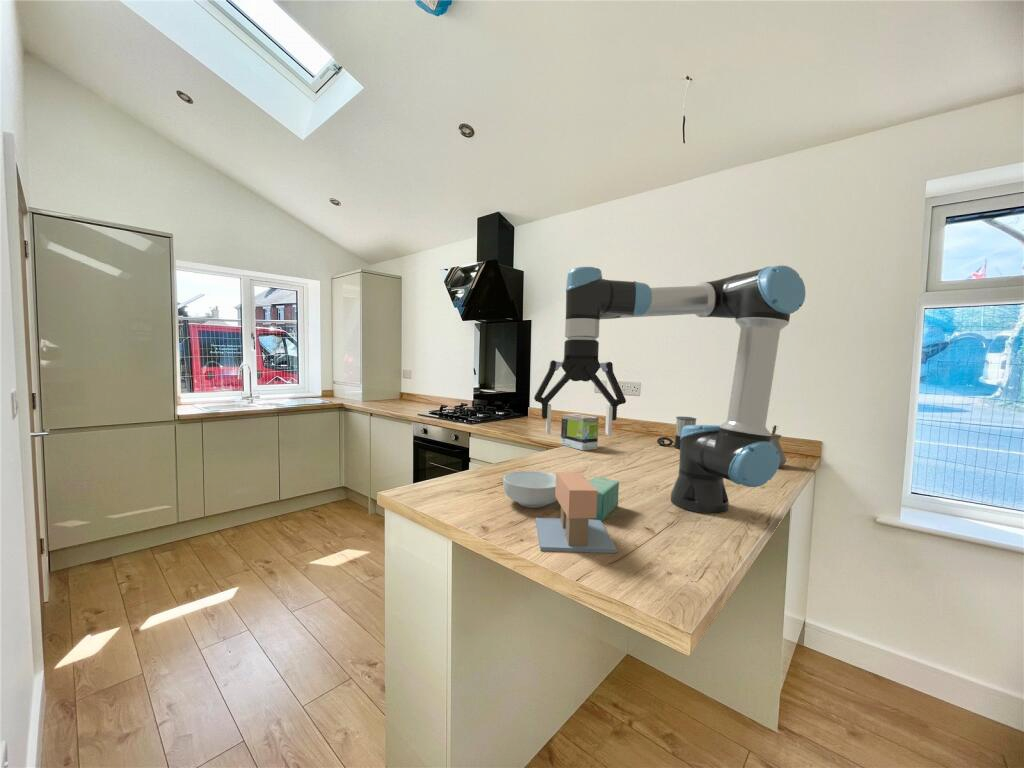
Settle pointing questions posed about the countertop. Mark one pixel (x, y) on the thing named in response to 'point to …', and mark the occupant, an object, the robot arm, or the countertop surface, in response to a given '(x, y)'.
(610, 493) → the box
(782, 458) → the coffee pot
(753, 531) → the countertop surface
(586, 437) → the tea box
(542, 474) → the cereal bowl
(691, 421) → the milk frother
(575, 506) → the beam
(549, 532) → the base
